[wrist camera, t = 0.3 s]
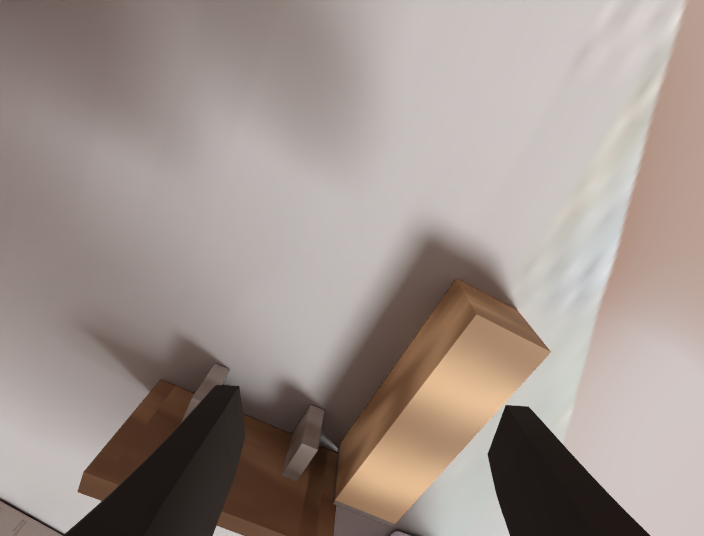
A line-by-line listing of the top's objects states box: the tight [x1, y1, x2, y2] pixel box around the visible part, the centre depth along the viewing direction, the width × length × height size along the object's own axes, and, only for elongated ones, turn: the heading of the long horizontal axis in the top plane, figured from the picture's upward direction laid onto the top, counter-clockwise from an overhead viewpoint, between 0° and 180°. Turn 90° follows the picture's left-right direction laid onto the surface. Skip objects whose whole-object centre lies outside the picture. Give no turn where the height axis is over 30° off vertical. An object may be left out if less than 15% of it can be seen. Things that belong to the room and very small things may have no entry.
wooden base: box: [78, 363, 338, 536], centre depth 20 cm, size 5×13×6 cm, turn 63°
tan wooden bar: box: [333, 279, 551, 526], centre depth 20 cm, size 14×4×4 cm, turn 153°
